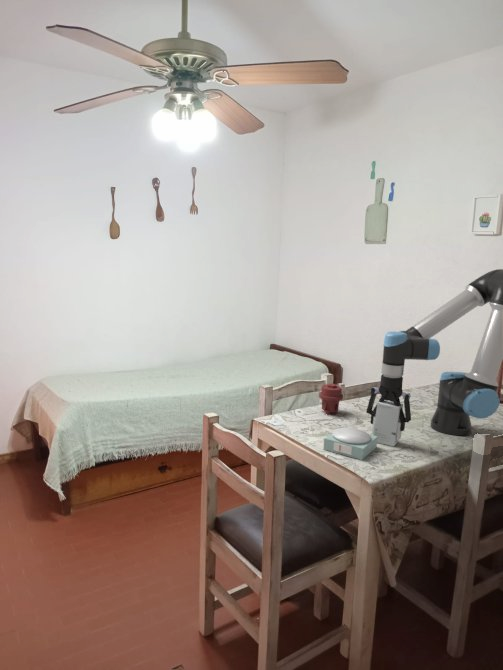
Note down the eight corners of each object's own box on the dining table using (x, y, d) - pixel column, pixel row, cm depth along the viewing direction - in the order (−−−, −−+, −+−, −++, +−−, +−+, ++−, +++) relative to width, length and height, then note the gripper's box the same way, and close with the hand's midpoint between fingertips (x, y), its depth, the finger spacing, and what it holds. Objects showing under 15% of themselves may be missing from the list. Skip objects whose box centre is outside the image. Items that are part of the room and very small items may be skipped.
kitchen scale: (376, 447, 173) (377, 433, 172) (361, 460, 161) (362, 446, 160) (339, 437, 181) (340, 424, 180) (322, 449, 169) (323, 436, 168)
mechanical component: (316, 408, 213) (338, 409, 214) (320, 416, 203) (343, 417, 204) (318, 381, 211) (341, 381, 212) (322, 387, 201) (346, 388, 202)
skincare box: (372, 442, 178) (375, 402, 175) (376, 436, 183) (380, 398, 180) (395, 447, 174) (399, 407, 171) (399, 442, 179) (403, 402, 176)
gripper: (425, 378, 172) (418, 439, 175) (367, 368, 183) (362, 426, 187) (419, 382, 165) (412, 446, 169) (359, 372, 177) (354, 431, 181)
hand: (386, 435), depth 178 cm, fingers closed on skincare box, 8 cm apart
